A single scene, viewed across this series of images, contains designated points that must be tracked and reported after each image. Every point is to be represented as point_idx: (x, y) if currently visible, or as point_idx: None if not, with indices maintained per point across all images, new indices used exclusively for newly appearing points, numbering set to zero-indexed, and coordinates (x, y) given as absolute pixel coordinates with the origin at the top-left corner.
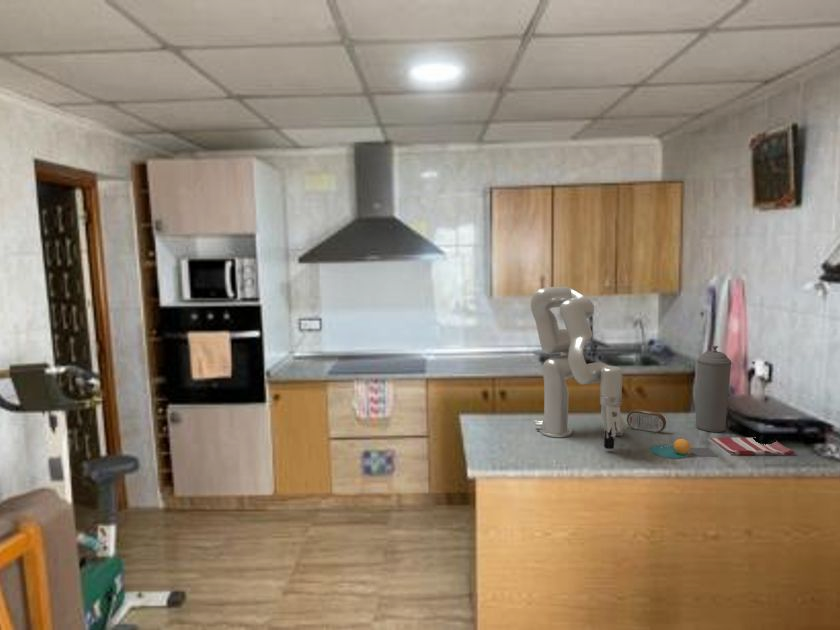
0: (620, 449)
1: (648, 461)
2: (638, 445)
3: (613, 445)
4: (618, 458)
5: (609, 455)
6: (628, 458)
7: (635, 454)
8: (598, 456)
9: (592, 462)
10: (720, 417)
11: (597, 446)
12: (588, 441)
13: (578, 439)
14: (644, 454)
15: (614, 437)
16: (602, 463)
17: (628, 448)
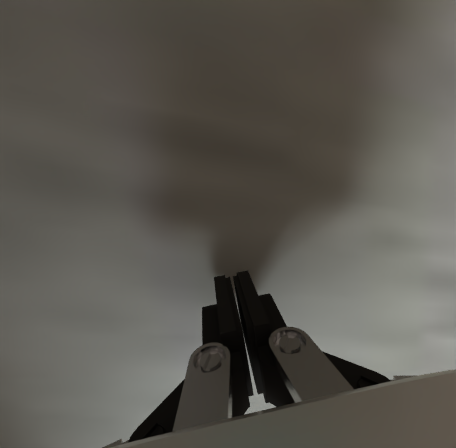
0: (166, 203)
1: (397, 18)
2: (3, 13)
3: (252, 285)
4: (345, 236)
5: (298, 285)
6: (342, 169)
7: (256, 99)
8: (319, 342)
9: (404, 369)
10: None
11: (143, 346)
12: (57, 395)
13: (39, 445)
14: (245, 12)
15: (309, 338)
16: (419, 325)
17: (124, 134)
